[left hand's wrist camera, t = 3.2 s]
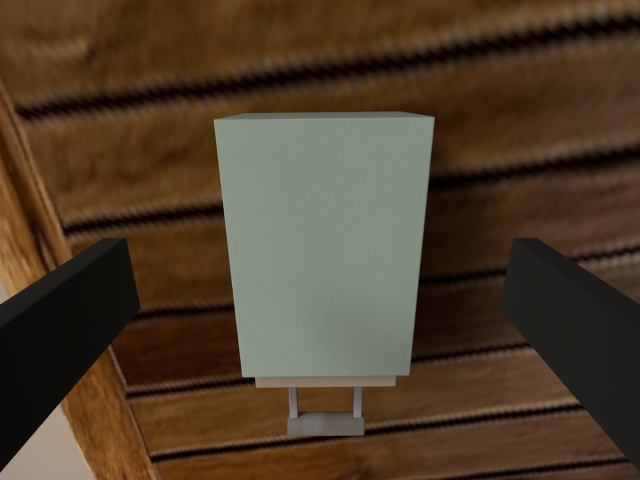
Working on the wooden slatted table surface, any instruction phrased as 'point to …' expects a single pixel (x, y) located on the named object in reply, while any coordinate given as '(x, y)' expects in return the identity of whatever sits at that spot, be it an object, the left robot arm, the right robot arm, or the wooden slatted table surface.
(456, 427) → the wooden slatted table surface
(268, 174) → the cabinet
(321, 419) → the drawer
